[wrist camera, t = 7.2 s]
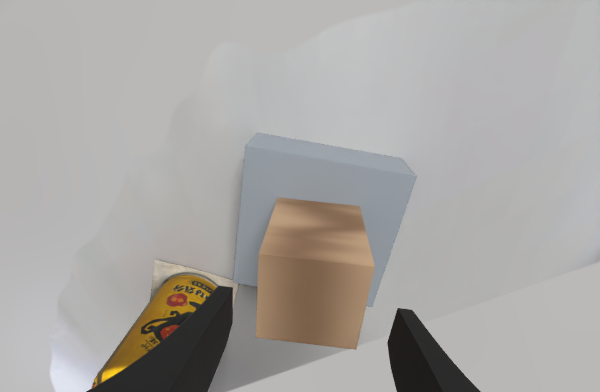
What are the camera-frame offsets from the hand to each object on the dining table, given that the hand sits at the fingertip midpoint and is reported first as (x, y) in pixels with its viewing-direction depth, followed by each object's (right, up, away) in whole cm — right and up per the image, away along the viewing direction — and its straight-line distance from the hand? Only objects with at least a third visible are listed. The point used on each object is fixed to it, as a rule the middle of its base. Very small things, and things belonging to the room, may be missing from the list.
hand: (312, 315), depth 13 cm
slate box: (+1, +4, +10) cm, 11 cm away
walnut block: (0, +3, +6) cm, 7 cm away
